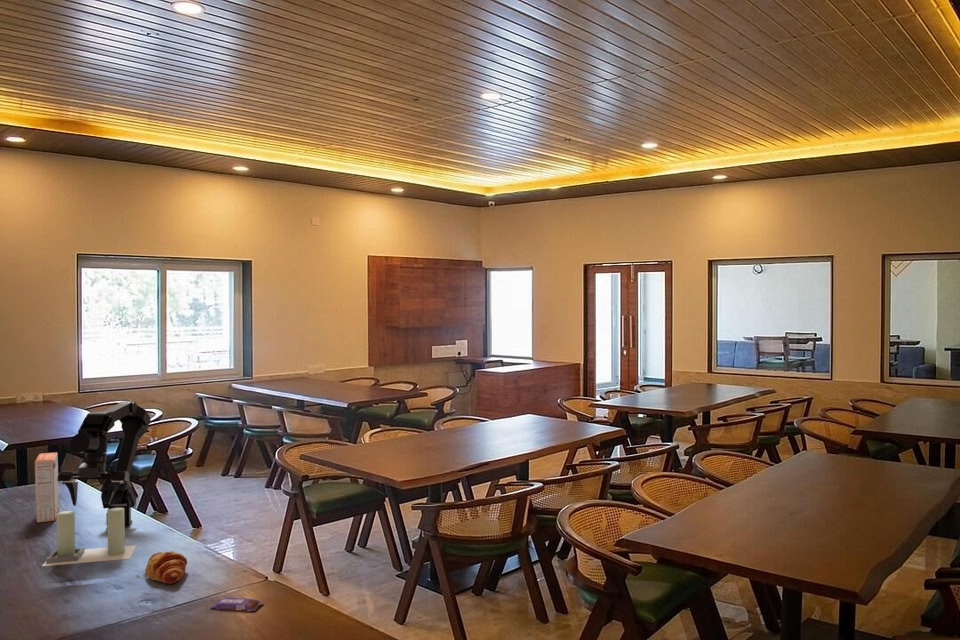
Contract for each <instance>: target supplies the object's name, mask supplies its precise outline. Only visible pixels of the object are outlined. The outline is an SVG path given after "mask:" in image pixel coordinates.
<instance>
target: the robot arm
mask: <svg viewBox="0 0 960 640" xmlns="http://www.w3.org/2000/svg"><path fill="white" fill-rule="evenodd" d="M117 421H119V422H120V423H121V430H122V432H123V434H124V436H123V439H122V443H121V446H120V448H119V449H120V451H119V453H118V457H117V461H116V464H115V468H114V471H111V473H106V470H107V465H106V464H107V463H106V462H107V457H108V456H107V454H108V453H107V452H108V441H109V439H111V435H110V434H109V433H108V432H110V430H112V429H113V428H115V427H114V426H115V423H116V422H117ZM150 424H151V416H150V414H149V413H148V411H147V410H146V409H144V408H143V407H141V406H139V405H138V404H137V402H135V401H120V402H118V403H117V404H116V405H113V406H111V407H109V408H106V409H105V410H101V411H90V412H88V413H87V414H86V416H85V417H84V418H83V421H82V422H81V425H80V427H79V429H78V431H77V433H76V434H74V435H73V437H72V438H71V440H70V441H69V447H70V449H71V450H72V451H73V452H75V453H77V454H78V453H79V454H85V456H84V458H83V462H82V463H81V464H80V465H79V466H78V471H60V472H58V478H57V481H58V482H61V484H62V485H65V486H66V487H67V491H69V495H70V498H71V502H72V506H74V507H76V506H77V503H78V485H79V481H76V480H104V485H103V488H102V491H101V494H100V498H101V499H100V500H101V502H102V503H101V504H102V508H103V509H104V510H105V509H107V510H109V509H112V508H124V526H125V528H129V527H130V526H131V524H132V523H133V520H132V508H134V507H136V503H137V497H136V496H135V494H134V492H133V486H132V484H131V481H130V477H131V472H132V469H133V465H134V463H135V462H134V460H135V456H136V453H137V450H138V445H139V442H140V439H141V438H142V437H143V436H144V435H145V434H146V432H147V431H148V429H149V425H150ZM105 515H106V516H105V518H106V520H107V512H106V514H105Z"/></svg>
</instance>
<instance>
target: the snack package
mask: <svg viewBox="0 0 960 640" xmlns="http://www.w3.org/2000/svg"><path fill="white" fill-rule="evenodd" d="M261 602H262V601H261V600H258V599H255V598H246V597H245V598H244V597H225V598H223V599H219V600H217V601H216V602H214V604H213V605H211V606H209V609H214V608H215V610H222V609H241V610H251V612H253V611H254V612H255V611H256V610H257V609H259V608H260V607H261V606H262V605H261V604H260V603H261ZM260 605H261V606H260ZM259 606H260V607H259ZM258 607H259V608H258ZM217 608H219V609H217Z"/></svg>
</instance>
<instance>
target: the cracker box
mask: <svg viewBox="0 0 960 640" xmlns="http://www.w3.org/2000/svg"><path fill="white" fill-rule="evenodd" d="M58 460H59V457H58V452H57V451H56V452H44V453H43V452H42V453H39V454H38V456H37V458H36V459H35V461H34V483H35V514H36V517H35V518H36V521H35V522H36V524H39V523H41V522H42V523H47V522H48V523H49V522H50V523H51V522H55V521H57V513H59V512H60V502H59V501H60V497H59V496H60V492H59V481H57V478H58V474H59V461H58ZM42 523H41V524H42Z"/></svg>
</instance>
